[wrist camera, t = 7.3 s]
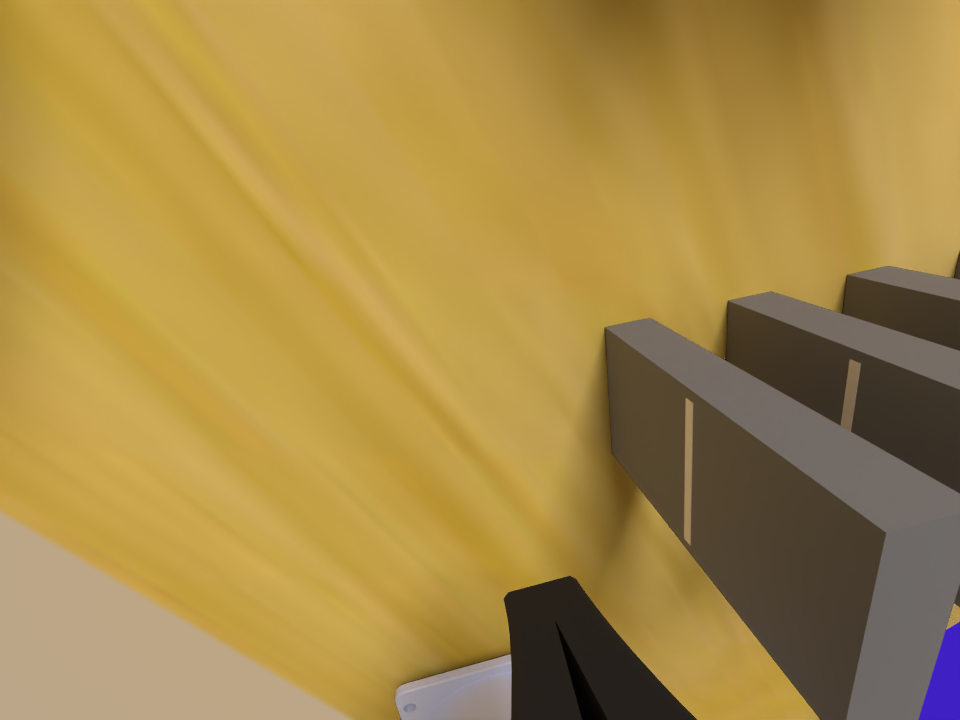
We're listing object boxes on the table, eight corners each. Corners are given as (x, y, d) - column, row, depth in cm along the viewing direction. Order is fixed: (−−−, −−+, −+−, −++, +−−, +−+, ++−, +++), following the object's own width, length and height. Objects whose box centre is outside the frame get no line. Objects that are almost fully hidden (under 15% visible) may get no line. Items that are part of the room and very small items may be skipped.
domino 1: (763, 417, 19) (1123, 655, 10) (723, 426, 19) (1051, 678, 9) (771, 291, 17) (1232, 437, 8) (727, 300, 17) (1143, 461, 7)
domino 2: (653, 444, 18) (918, 720, 9) (611, 453, 18) (839, 745, 9) (650, 317, 16) (983, 506, 7) (604, 327, 16) (885, 533, 7)
